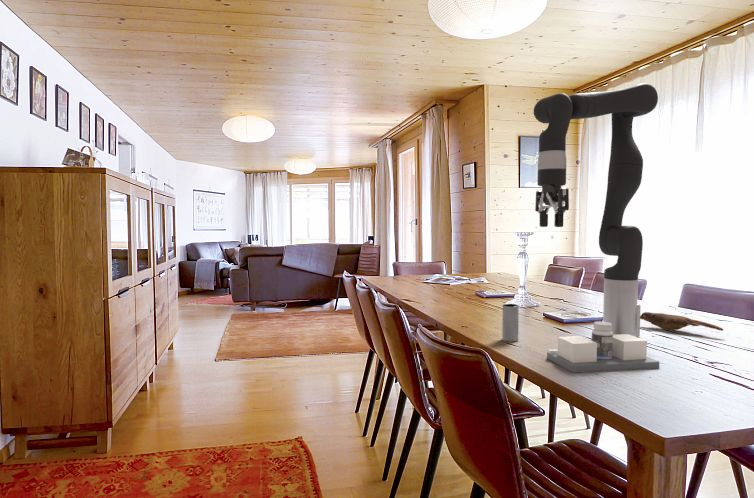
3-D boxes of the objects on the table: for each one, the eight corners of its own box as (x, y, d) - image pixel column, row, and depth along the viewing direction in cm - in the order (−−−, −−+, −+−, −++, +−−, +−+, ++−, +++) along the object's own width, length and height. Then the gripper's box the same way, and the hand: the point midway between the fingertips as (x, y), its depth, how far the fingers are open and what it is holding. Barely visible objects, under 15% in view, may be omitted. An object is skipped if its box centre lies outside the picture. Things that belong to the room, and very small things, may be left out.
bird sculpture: (720, 340, 143) (721, 323, 143) (630, 326, 162) (631, 311, 162) (727, 336, 148) (727, 320, 147) (638, 323, 166) (639, 309, 166)
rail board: (626, 354, 128) (626, 331, 128) (659, 367, 116) (660, 342, 116) (547, 358, 125) (547, 334, 125) (572, 372, 113) (573, 346, 113)
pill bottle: (587, 354, 123) (588, 321, 122) (605, 354, 123) (606, 320, 122) (597, 359, 118) (598, 325, 117) (616, 359, 118) (617, 324, 118)
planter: (518, 338, 146) (519, 304, 145) (517, 342, 142) (518, 306, 141) (503, 337, 147) (503, 303, 147) (501, 341, 143) (502, 305, 142)
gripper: (578, 165, 131) (577, 227, 132) (551, 171, 145) (550, 226, 146) (552, 165, 130) (551, 227, 130) (527, 171, 144) (526, 226, 145)
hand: (550, 226), depth 138 cm, fingers open, 8 cm apart
